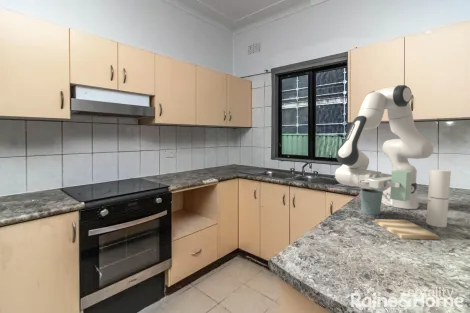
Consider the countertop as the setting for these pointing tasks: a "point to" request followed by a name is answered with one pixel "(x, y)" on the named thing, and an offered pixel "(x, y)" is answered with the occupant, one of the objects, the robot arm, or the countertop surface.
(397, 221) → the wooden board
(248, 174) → the countertop surface
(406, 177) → the mint green rectangular block
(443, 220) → the cylindrical container
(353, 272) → the countertop surface
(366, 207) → the teal plant pot
